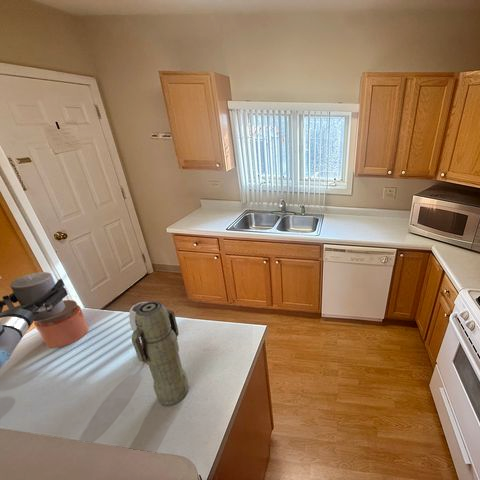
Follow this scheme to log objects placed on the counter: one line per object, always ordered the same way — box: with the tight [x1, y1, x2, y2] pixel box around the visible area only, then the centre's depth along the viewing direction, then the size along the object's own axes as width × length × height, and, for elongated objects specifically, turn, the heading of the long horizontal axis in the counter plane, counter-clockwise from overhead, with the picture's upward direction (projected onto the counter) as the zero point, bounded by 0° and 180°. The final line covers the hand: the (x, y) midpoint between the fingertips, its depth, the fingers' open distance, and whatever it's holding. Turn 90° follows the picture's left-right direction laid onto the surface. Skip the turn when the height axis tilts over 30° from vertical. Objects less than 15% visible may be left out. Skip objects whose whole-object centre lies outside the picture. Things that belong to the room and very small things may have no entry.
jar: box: [33, 299, 90, 349], centre depth 100 cm, size 13×13×13 cm
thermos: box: [131, 300, 190, 407], centre depth 75 cm, size 9×12×35 cm
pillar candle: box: [9, 271, 65, 321], centre depth 87 cm, size 10×10×15 cm
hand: (42, 285), depth 90 cm, fingers closed on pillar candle, 9 cm apart
